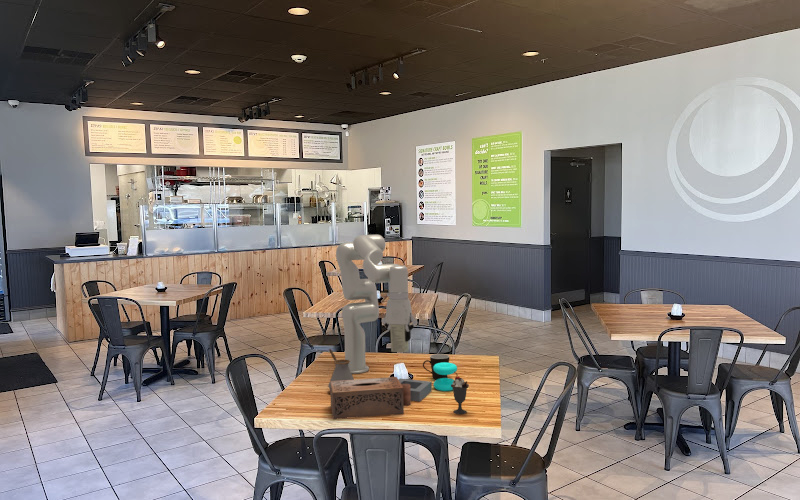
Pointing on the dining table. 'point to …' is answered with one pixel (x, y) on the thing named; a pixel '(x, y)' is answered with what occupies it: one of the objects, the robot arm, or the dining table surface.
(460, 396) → the sundae
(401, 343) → the skincare box
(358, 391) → the tissue box cover
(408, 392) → the medium mahogany dowel
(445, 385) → the donuts
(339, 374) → the coffee pot
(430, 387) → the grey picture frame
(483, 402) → the dining table surface
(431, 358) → the coffee mug
